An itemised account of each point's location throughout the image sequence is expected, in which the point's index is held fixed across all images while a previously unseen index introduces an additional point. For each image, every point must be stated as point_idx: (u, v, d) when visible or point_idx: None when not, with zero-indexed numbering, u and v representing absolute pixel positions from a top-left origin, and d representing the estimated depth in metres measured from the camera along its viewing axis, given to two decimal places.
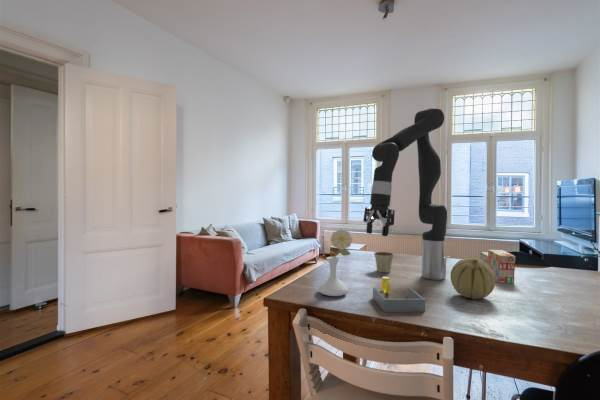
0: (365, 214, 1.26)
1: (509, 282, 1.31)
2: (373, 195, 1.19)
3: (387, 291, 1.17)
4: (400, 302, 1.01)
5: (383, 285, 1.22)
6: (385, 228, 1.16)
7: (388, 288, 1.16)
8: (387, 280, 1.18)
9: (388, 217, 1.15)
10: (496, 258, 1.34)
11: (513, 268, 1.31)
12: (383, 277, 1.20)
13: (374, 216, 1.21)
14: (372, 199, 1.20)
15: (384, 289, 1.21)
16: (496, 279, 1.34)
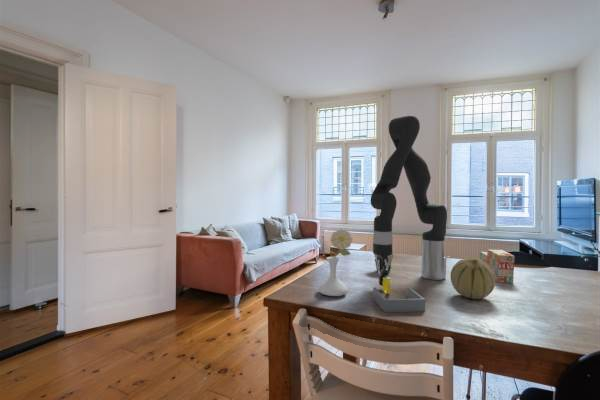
0: (376, 265, 1.27)
1: (508, 282, 1.32)
2: (373, 245, 1.23)
3: (388, 291, 1.16)
4: (400, 302, 1.01)
5: (384, 285, 1.21)
6: (381, 278, 1.22)
7: (389, 288, 1.16)
8: (388, 280, 1.17)
9: (382, 271, 1.19)
10: (495, 258, 1.35)
11: (512, 268, 1.31)
12: (384, 277, 1.19)
13: None
14: (373, 248, 1.23)
15: (385, 289, 1.20)
16: (495, 279, 1.34)
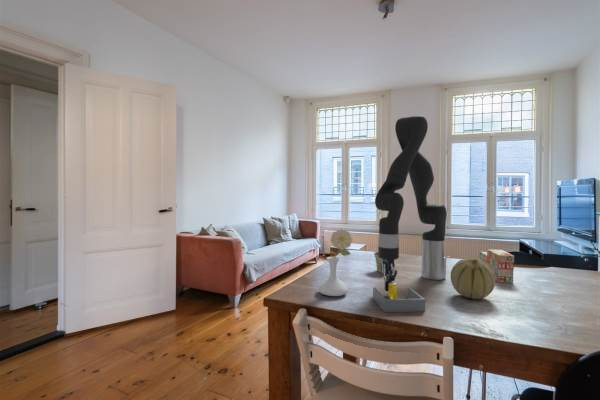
0: (381, 269, 1.20)
1: (508, 281, 1.32)
2: (378, 248, 1.16)
3: (394, 298, 1.09)
4: (400, 302, 1.01)
5: (390, 291, 1.14)
6: (387, 283, 1.16)
7: (395, 295, 1.09)
8: (394, 286, 1.10)
9: (388, 276, 1.12)
10: (495, 258, 1.35)
11: (512, 268, 1.31)
12: (390, 283, 1.12)
13: None
14: (378, 252, 1.16)
15: (391, 296, 1.14)
16: (495, 278, 1.34)
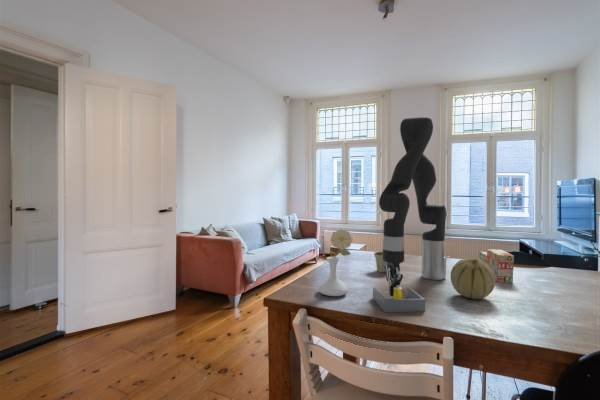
0: (386, 273, 1.15)
1: (508, 281, 1.32)
2: (383, 251, 1.11)
3: None
4: (400, 302, 1.01)
5: (395, 296, 1.09)
6: (392, 288, 1.11)
7: None
8: (399, 291, 1.05)
9: (393, 280, 1.08)
10: (495, 258, 1.35)
11: (512, 267, 1.31)
12: (395, 287, 1.07)
13: None
14: None
15: None
16: (495, 278, 1.35)
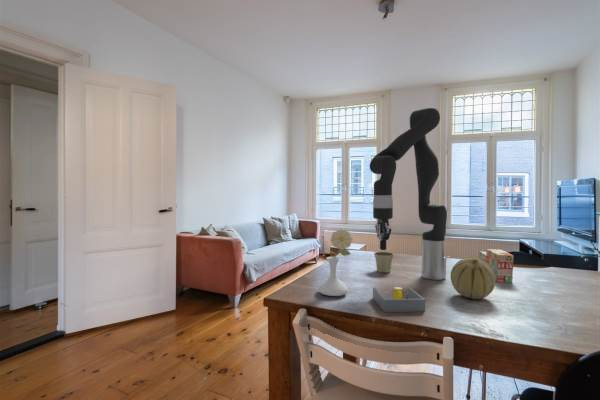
0: (377, 230, 1.27)
1: (507, 281, 1.32)
2: (373, 209, 1.22)
3: None
4: (400, 302, 1.01)
5: (395, 296, 1.09)
6: (382, 242, 1.22)
7: None
8: (399, 291, 1.05)
9: (383, 234, 1.19)
10: (494, 257, 1.35)
11: (511, 267, 1.32)
12: (395, 287, 1.07)
13: None
14: (373, 213, 1.23)
15: None
16: None
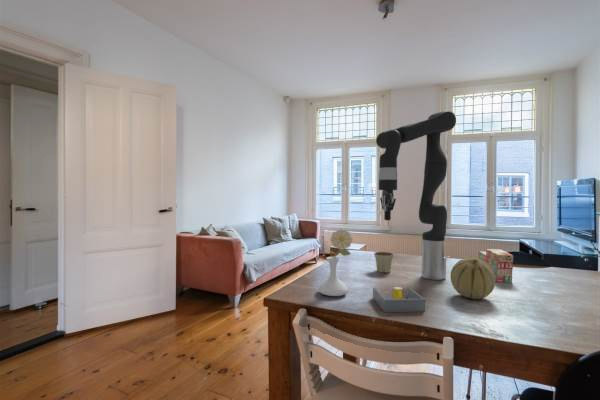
0: (381, 203, 1.33)
1: (507, 281, 1.33)
2: (379, 181, 1.29)
3: None
4: (400, 302, 1.01)
5: (395, 296, 1.09)
6: (386, 213, 1.28)
7: None
8: (399, 291, 1.05)
9: (387, 204, 1.25)
10: (494, 257, 1.36)
11: (511, 267, 1.32)
12: (395, 287, 1.07)
13: None
14: None
15: None
16: None
